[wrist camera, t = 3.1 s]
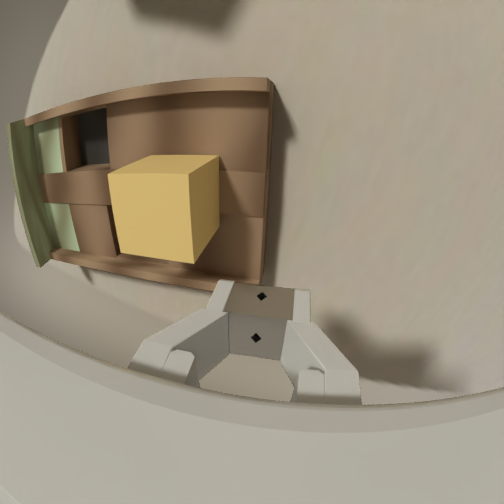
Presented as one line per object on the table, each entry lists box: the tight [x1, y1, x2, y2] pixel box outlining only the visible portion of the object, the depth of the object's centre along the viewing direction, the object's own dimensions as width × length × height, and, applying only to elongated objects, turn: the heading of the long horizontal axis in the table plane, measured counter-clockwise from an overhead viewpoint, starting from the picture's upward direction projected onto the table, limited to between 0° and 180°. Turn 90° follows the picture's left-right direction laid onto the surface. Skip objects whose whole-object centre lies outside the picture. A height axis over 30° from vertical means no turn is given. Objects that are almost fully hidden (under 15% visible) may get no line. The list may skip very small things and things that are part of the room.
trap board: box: [6, 77, 274, 291], centre depth 19 cm, size 23×15×5 cm, turn 88°
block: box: [108, 155, 220, 264], centre depth 16 cm, size 5×5×5 cm
